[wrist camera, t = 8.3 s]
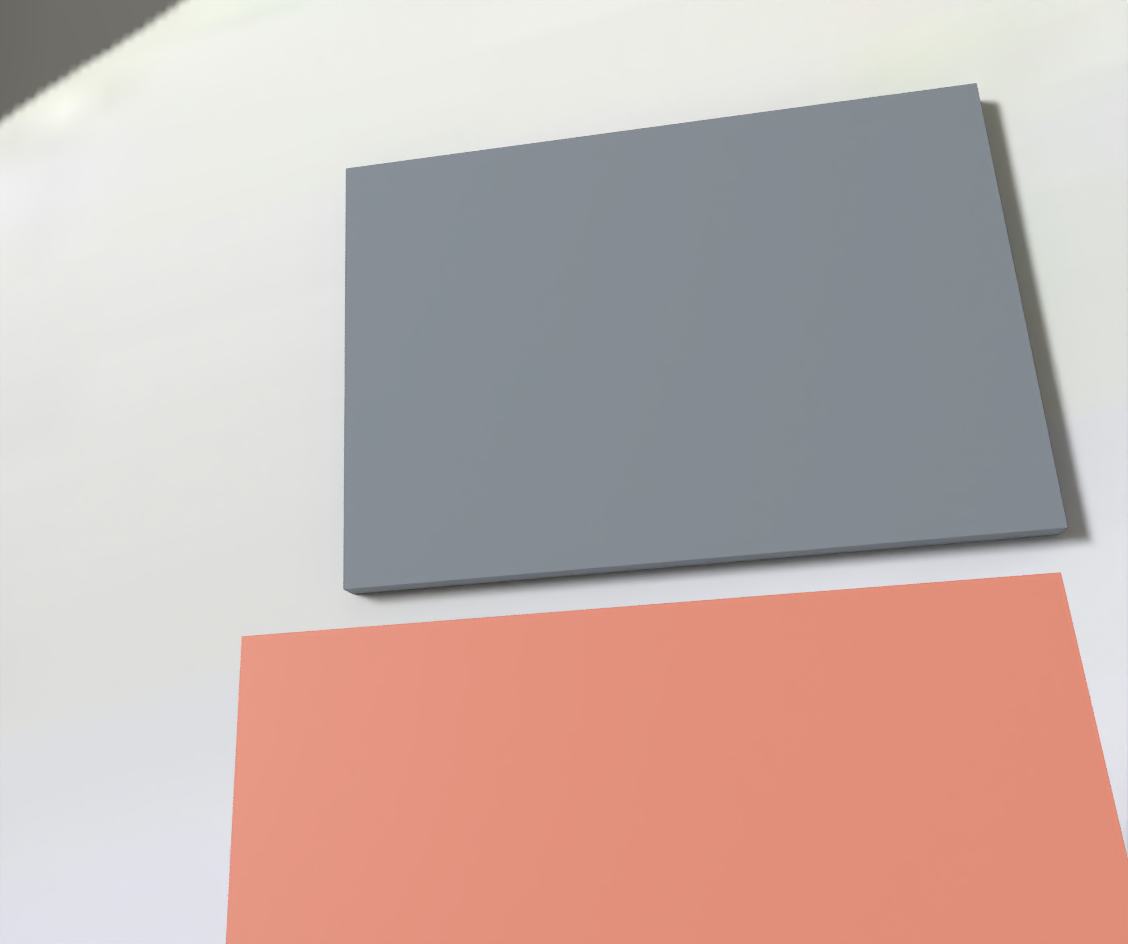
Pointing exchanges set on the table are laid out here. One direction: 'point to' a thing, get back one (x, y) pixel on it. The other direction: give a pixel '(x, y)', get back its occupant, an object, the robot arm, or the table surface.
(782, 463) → the mat
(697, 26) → the table surface
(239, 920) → the block
